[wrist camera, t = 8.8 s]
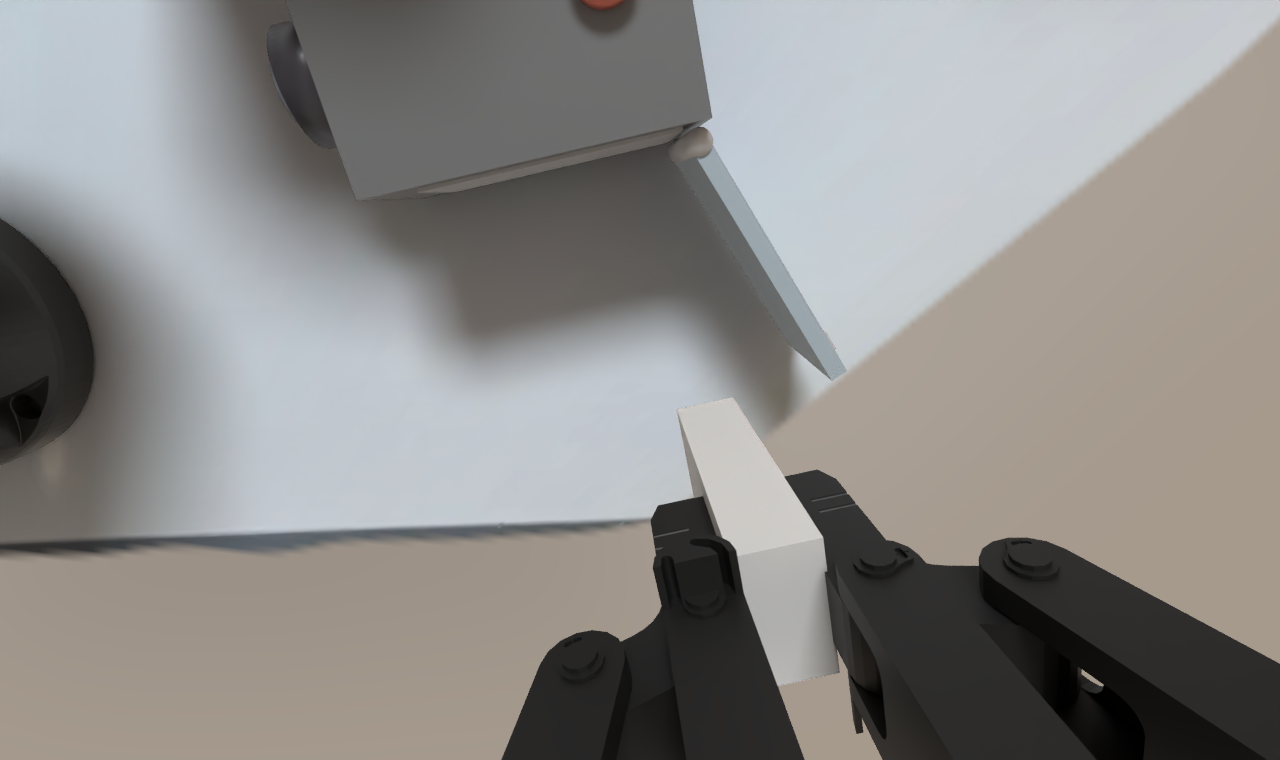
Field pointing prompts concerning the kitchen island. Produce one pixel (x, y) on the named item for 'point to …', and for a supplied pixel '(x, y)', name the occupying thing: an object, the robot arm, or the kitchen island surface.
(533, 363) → the kitchen island surface
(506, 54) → the camera block
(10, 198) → the kitchen island surface
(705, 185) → the side door
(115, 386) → the kitchen island surface
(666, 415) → the kitchen island surface
